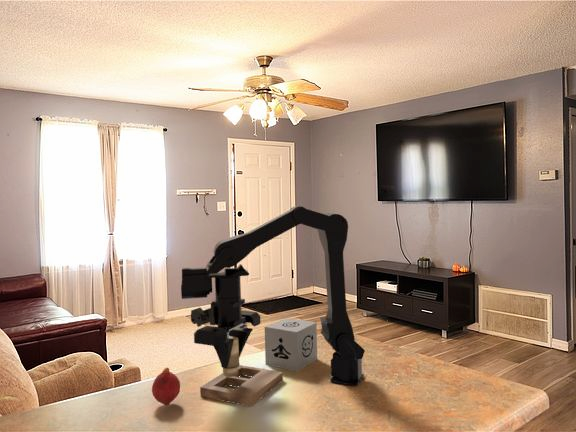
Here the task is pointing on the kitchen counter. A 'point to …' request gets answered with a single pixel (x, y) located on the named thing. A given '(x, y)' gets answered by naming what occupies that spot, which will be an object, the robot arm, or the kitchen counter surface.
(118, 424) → the kitchen counter surface
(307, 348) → the icon cube
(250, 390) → the board
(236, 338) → the peg
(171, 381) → the onion
